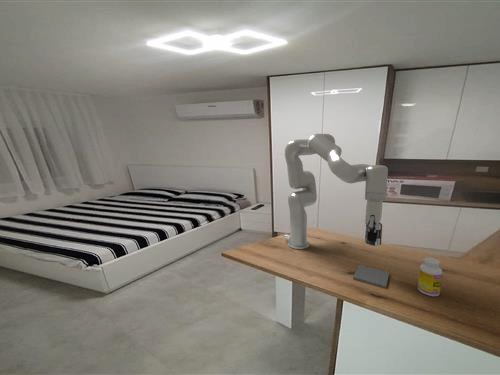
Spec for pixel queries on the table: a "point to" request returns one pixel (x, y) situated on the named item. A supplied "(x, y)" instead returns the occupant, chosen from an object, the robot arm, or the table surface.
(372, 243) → the pill bottle
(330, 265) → the table surface
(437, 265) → the supplement bottle
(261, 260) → the table surface
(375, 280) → the plate
